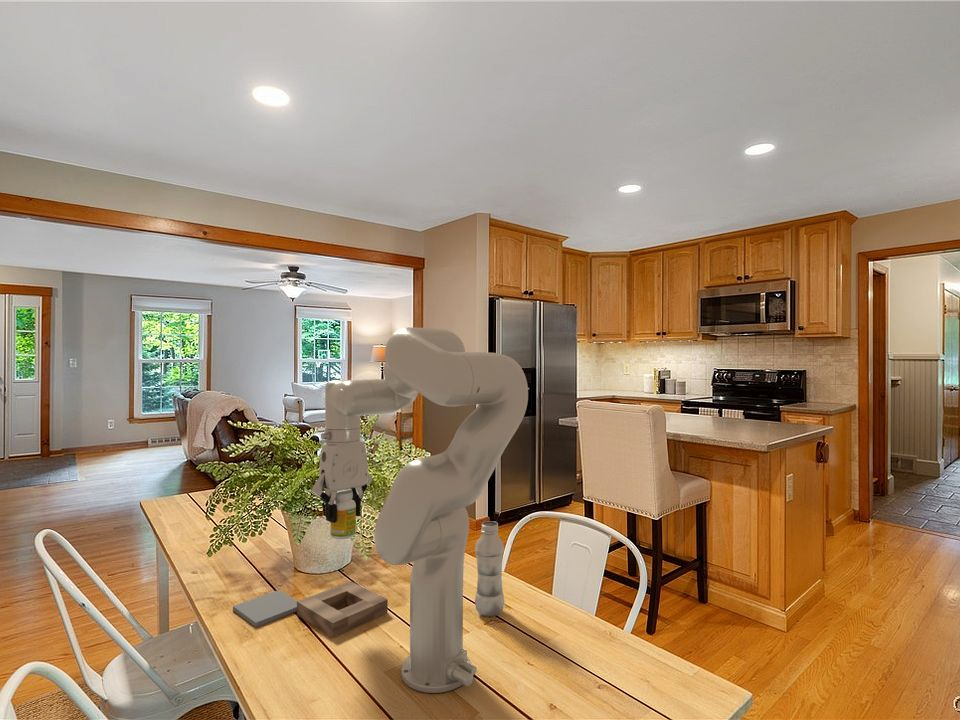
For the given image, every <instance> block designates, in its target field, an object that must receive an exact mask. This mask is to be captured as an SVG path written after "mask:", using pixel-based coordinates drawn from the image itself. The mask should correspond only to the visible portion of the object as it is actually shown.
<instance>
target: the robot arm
mask: <svg viewBox="0 0 960 720" xmlns="http://www.w3.org/2000/svg"><path fill="white" fill-rule="evenodd" d="M384 360H385V362H384V365H383V378H382V379H381V378H379V379H378V378H377V379H375V378H374V379H373V378H372V379H356V380H355V379H354V380H353V379H334V380H329V381H327V382H326V384H325V387H324V392H325V393H324V396H325V397H324V402H325V403H324V405H325V407H324V408H325V409H324V410H325V412H324V416H325V417H324V418H325V421H324V422H325V423H324V425H325V426H324V432H323V433H321V434H320V439H321V440H322V441H323V440H324V443H323V444H322V448H321V452H320V459H319V471H318V472H319V473H318V476H319V477H318V478H317V480H316V482H315V483H314V485H313V486H312V487H311V492H312V494H314V495H315V496H317V497H318V498H319V499H320V500H321V501H322V503H324V517H325V520H326V521H327V522H329V523H331V522H332V523H336V521H337V505H336V504H334V502H335V498H336V494H337V491H342V490H351V491H353V498H352V500H353V501H355V503H356V517H361V509H362V498H363V497H364V493H365V492H366V490H367V489H368V486H369V485H370V484H371V483H372V481H373V476H371V474H370V473H369V465H368V463H369V462H368V455H367V449H366V445H365V442H364V440H362V439H361V438H362V437H361V433H362V432H361V417H363V416H372V415H382V414H384V415H385V414H390V413H394V412H397V411H399V410H401V409H403V408H405V407H406V406H410V404H412V403H413V402H415V400H416V398H417V397H418V395H419V394H420V395H421V396H423V397H424V398H425V399H427V400H428V401H430V402H433V403H434V404H436V405H439V406H442V407H443V406H444V407H451V408H452V407H463V406H464V407H465V406H474V405H477V407H475V409H474V410H473V411H472V412H471V413H470V414H469V415H468V416H467V417H466V418H465V419H464V420H463V421H462V422H461V424H460V425H459V427H458V428H457V430H456V432H455V434H454V437H453V438H452V440H451V441H450V444H449V445H448V447H447V448H446V450H444V451H443V452H441V453H438V454H434V455H429V456H424V457H420V458H417V459H413V460H411V461H410V462H408V463H407V464H406V465H404V466H403V467H402V468H401V469H400V471H399V472H398V473H397V475H396V477H395V479H394V481H393V483H392V485H391V487H390V490H389V491H388V494H387V496H386V499H384V500H385V501H384V503H383V505H382V506H381V508H380V512H379V513H378V517H377V518H376V522H375V525H374V533H373V535H374V536H373V540H374V546H375V549H376V553H377V554H378V556H379V557H380V559H381V560H383V561H384V562H385V563H387V564H389V565H391V566H404V565H407V564H411V563H412V568H411V571H410V583H409V584H410V586H409V589H410V591H409V603H410V604H409V607H410V608H409V655H408V656H406V658H405V659H404V661H402V664H401V669H400V670H401V679H402V680H403V682H404V683H405V684H406V685H407V686H408V687H410V688H411V689H413V690H415V691H418V692H420V693H421V692H422V693H429V694H439V693H445V692H450V691H452V690H455V689H457V688H460V687H461V686H465V687H470V686H471V685H472V683H473V681H474V675H476V673H477V667H476V666H475V665H473V664H472V663H471V659H470V658H469V656H468V651H467V650H466V649H465V648H464V644H463V643H464V640H463V639H464V637H463V636H464V625H463V624H464V568H465V567H464V566H465V565H464V563H465V555H466V553H465V552H466V549H467V542H468V537H469V531H470V519H469V518H470V517H469V514H468V511H467V508H466V507H468V506H470V505H472V504H474V503H475V502H476V501H477V500H478V499H479V498H480V496H481V494H482V493H483V491H484V489H485V487H486V485H487V483H488V482H489V480H490V478H491V476H492V475H493V473H494V471H495V469H496V467H497V465H498V463H499V462H500V459H501V457H502V456H503V453H504V451H505V449H506V448H507V446H508V445H509V443H510V441H511V440H512V439H513V436H515V433H516V432H517V430H518V429H519V426H520V425H521V423H522V421H523V420H524V416H525V414H526V411H527V406H528V402H529V388H528V387H529V386H528V381H527V378H526V375H525V374H526V373H524V370H523V369H522V367H521V365H520V364H519V363H518V362H517V361H516V360H515V359H514V358H512V357H510V356H508V355H506V354H502V353H497V352H488V351H487V352H483V351H481V352H479V351H477V352H476V351H474V352H473V351H472V352H470V351H469V352H466V349H465V344H464V343H463V341H462V339H461V338H460V337H459V335H457V334H456V333H454V332H453V331H450V330H448V329H442V328H432V327H431V328H429V327H428V328H427V327H404V328H400V329H398V330H397V331H395V332H393V334H392V335H390V337H389V338H388V340H387V342H386V344H385V348H384ZM322 489H325V490H324V491H323V490H322Z"/></svg>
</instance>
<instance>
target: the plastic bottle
mask: <svg viewBox="0 0 960 720" xmlns="http://www.w3.org/2000/svg"><path fill="white" fill-rule="evenodd" d="M480 533H481V535H480V537H479V538H478V539H477V541H476V542H475V545H474V546H475V547H474V552H475V557H476V558H475V559H476V560H475V561H476V568H477V582H476V583H477V584H476V592H475V597H474V598H475V599H474V605H475V610H476V611H477V613H478V614H479V615H481V616H482V617H490V618H491V617H497V616H499V615H500V614H501V613H502V612H503V611H504V608H505V596H504V591H503V581H502V575H503V573H502V572H503V559H504V552H505V546H504V542H503V541H502V539H501V537H500V536H499V535H498V533H499V523H498V522H497V521H494V520H493V521H492V520H491V521H490V520H487V521H483V522H481V529H480Z"/></svg>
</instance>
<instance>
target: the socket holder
mask: <svg viewBox="0 0 960 720" xmlns="http://www.w3.org/2000/svg"><path fill="white" fill-rule="evenodd" d="M388 603H389V602H388V598H385V597H384V596H382V595H380V594H378V593H376V592H373V590H372V591H371V590H370V589H368V588H365V587H363V586H361V585H359V584H357V583H355V582H353V581H347V582H345V583H342V584H339V585H338V586H335V587H331V588H329V589H326V590H324V591H321V592H318V593H316V594H313V595H310V596H307V597H305V598H302V599H300V600H297V612H296V616H297V617H299V618H301V619H302V618H303V619H302V620H304V621H305V622H307V623H309V624H310V625H312V626H313V627H315V628H317V629H318V630H320V631H322V632H323V633H325V635H328V636H329V637H331V639H332V638H335V637H338V636H340V635H343V634H344V633H346V632H349V631H351V630H354V629H355V628H358V627H361V625H364V624H366V623H368V622H371V621H372V620H374V619H377V618H379V617H382V616H384V615H386V614H388V613H389V611H388V607H389V606H388V605H389V604H388ZM345 605H347V606H345ZM343 606H345V607H344V608H341V609H339V610H338V608H340V607H343Z"/></svg>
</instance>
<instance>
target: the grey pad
mask: <svg viewBox="0 0 960 720" xmlns="http://www.w3.org/2000/svg"><path fill="white" fill-rule="evenodd" d="M297 601H298V600H297V599H296V598H293V597H292V596H290V595H289V594H287V593H286V592H284V591H282V590H280V589H278V590H275V591H271V592H269V593H267V594H264V595H261V596H258V597H255V598H252V599H249V600H245V601H244V602H241V603H238V604H234V605H232V611H233V612H234V613H236V614H237V615H238V616H240V617H241V618H242V619H244V620H245V621H246V622H248V623H249V624H251V626H253V627H254V628H258V627H260V626H263V625H265V624H269V623H271V622H274V621H276V620H279V619H280V618H284V617H286V616H289V615H291V613H292V614H294V613H297V612H296V611H297ZM293 612H294V613H293Z"/></svg>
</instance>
